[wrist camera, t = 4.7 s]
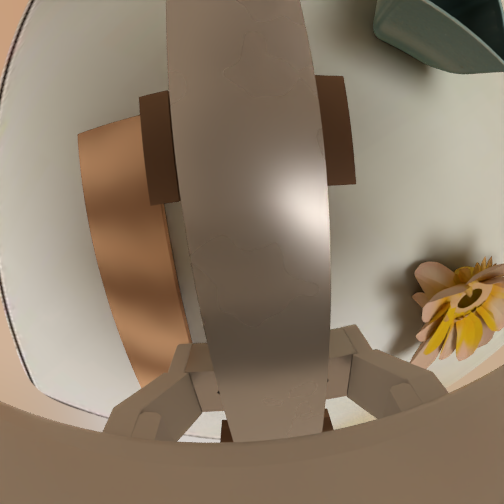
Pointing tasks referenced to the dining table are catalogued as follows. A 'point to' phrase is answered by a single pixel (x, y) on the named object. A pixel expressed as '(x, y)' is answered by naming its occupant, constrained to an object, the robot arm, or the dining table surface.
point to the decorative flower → (458, 309)
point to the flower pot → (445, 32)
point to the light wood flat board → (132, 247)
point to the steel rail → (254, 206)
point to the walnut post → (163, 153)
